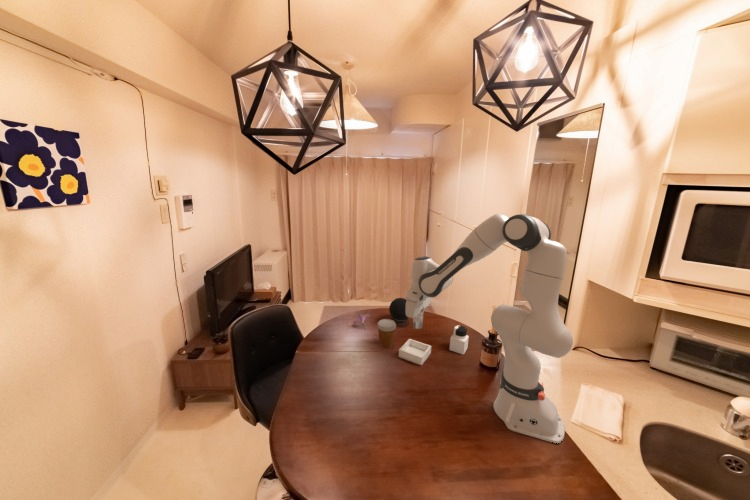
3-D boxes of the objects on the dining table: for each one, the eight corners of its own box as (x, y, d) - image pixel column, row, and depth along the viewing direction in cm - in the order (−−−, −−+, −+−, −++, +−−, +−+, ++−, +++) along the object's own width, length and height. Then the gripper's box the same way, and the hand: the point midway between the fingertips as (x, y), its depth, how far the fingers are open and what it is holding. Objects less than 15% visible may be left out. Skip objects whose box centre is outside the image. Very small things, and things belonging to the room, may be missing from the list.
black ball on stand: (384, 322, 168) (384, 298, 165) (397, 315, 178) (398, 292, 175) (402, 330, 160) (403, 305, 157) (415, 322, 170) (416, 298, 166)
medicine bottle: (467, 348, 145) (470, 326, 142) (463, 355, 139) (466, 332, 136) (453, 343, 148) (455, 322, 146) (449, 350, 143) (451, 328, 140)
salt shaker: (415, 323, 138) (416, 302, 135) (423, 325, 135) (425, 305, 133) (411, 327, 134) (412, 305, 131) (420, 329, 132) (421, 308, 129)
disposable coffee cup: (383, 337, 152) (384, 316, 150) (398, 343, 147) (399, 322, 144) (372, 345, 145) (373, 323, 142) (388, 352, 140) (389, 329, 137)
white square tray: (430, 353, 140) (431, 345, 139) (421, 365, 130) (421, 357, 129) (409, 345, 146) (409, 338, 145) (398, 357, 136) (398, 349, 135)
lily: (374, 325, 167) (368, 309, 169) (375, 327, 156) (369, 310, 157) (354, 332, 166) (349, 316, 167) (354, 335, 154) (348, 317, 156)
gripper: (422, 283, 141) (420, 309, 144) (403, 296, 124) (401, 325, 127) (435, 286, 137) (432, 313, 141) (417, 300, 121) (414, 330, 124)
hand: (417, 319), depth 134 cm, fingers closed on salt shaker, 4 cm apart
